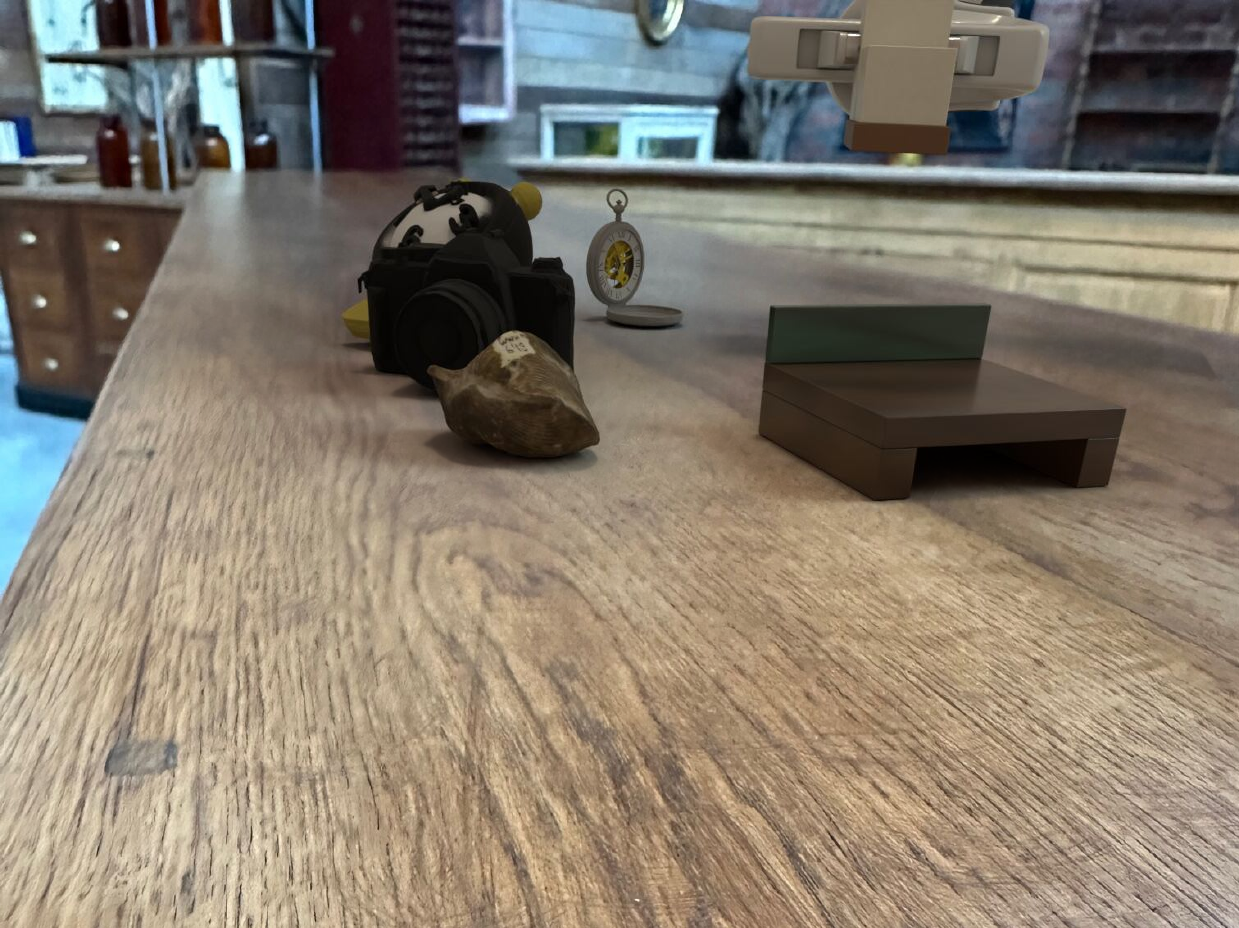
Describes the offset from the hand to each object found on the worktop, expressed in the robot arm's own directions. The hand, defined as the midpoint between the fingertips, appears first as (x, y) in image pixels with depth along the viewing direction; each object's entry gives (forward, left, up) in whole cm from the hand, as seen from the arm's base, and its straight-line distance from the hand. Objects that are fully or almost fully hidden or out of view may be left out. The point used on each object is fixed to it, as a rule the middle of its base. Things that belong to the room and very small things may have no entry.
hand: (902, 50), depth 78 cm
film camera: (+17, +25, -20) cm, 36 cm away
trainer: (-1, +2, -6) cm, 6 cm away
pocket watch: (+25, -5, -20) cm, 32 cm away
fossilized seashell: (+3, +35, -20) cm, 40 cm away
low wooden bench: (-14, +20, -20) cm, 31 cm away
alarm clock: (+30, +13, -20) cm, 38 cm away
